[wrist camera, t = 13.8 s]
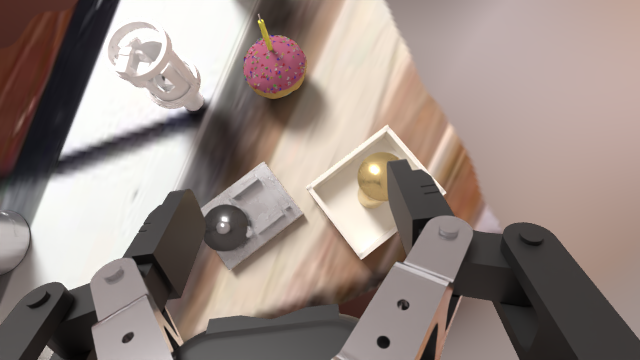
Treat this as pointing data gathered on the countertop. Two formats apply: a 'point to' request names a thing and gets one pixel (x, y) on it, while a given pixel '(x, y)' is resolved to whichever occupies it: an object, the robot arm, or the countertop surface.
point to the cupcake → (274, 65)
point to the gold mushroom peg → (374, 179)
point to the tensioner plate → (248, 215)
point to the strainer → (154, 66)
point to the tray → (342, 194)
